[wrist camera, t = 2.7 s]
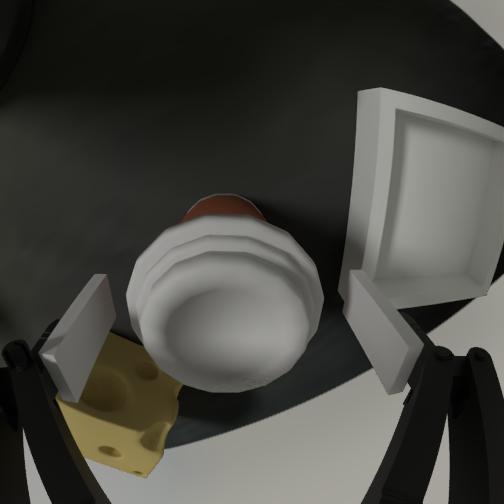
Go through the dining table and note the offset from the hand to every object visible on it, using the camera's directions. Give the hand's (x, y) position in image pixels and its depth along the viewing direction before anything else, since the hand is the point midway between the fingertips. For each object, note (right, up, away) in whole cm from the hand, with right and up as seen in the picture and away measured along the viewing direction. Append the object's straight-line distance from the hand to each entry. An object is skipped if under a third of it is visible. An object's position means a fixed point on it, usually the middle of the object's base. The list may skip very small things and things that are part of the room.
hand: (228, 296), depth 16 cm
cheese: (-12, -10, +12) cm, 20 cm away
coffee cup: (-1, +4, +7) cm, 8 cm away
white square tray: (+17, +7, +7) cm, 20 cm away
